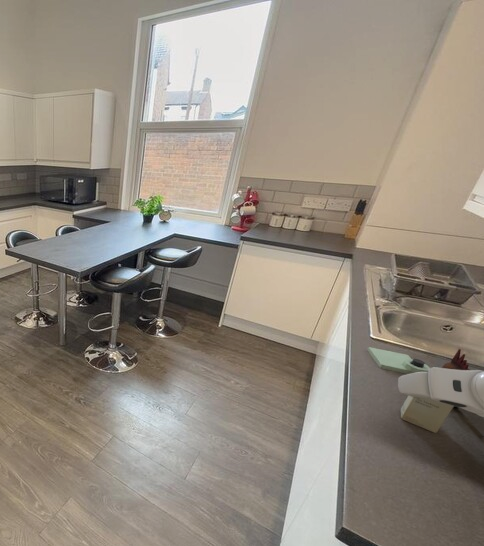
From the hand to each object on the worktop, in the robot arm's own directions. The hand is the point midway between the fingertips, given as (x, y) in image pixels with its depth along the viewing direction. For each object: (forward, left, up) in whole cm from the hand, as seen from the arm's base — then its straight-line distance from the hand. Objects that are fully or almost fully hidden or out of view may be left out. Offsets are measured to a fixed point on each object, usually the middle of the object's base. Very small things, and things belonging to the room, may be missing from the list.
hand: (440, 400), depth 71 cm
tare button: (-8, -26, -6) cm, 28 cm away
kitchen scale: (-5, -29, -9) cm, 31 cm away
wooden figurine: (-9, -14, -9) cm, 19 cm away
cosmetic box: (0, -2, -9) cm, 9 cm away
